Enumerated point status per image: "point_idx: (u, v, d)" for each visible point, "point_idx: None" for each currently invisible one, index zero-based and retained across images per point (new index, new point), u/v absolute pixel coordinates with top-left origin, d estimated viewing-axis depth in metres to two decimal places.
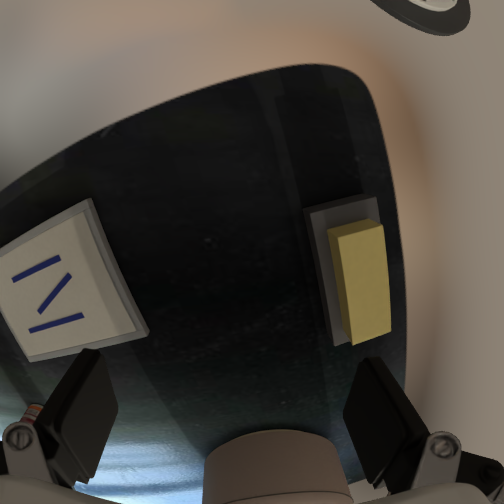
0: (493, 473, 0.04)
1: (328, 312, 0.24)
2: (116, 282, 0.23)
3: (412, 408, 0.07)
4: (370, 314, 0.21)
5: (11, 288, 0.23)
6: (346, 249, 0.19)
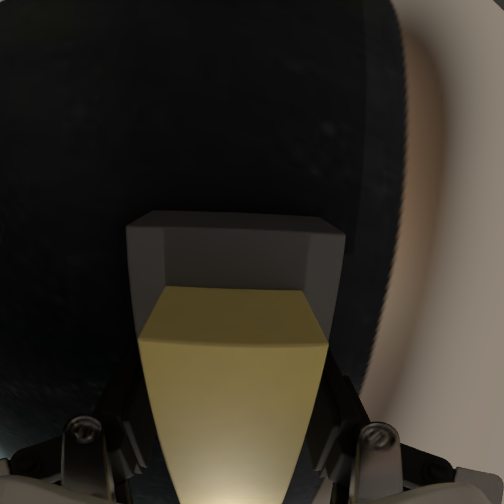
0: (437, 472, 0.05)
1: None
2: None
3: (349, 395, 0.07)
4: (229, 500, 0.07)
5: None
6: (167, 381, 0.05)
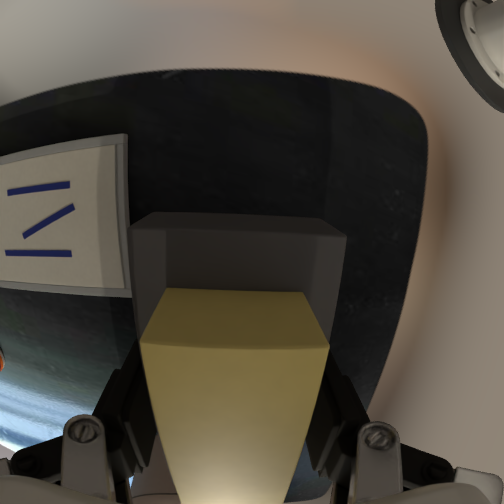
0: (437, 472, 0.05)
1: None
2: (122, 230, 0.21)
3: (349, 395, 0.07)
4: (230, 500, 0.07)
5: (3, 201, 0.20)
6: (168, 383, 0.05)
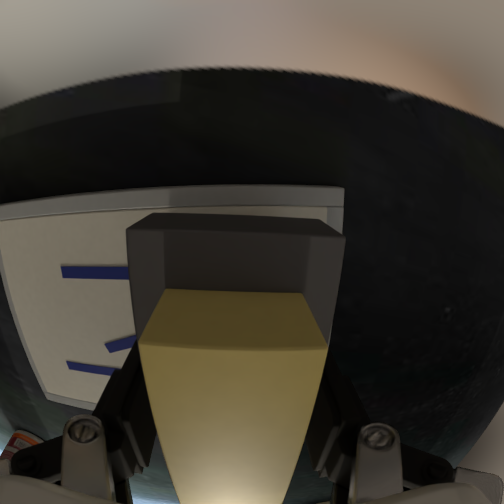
0: (438, 472, 0.05)
1: None
2: None
3: (349, 395, 0.07)
4: (229, 501, 0.07)
5: (53, 284, 0.12)
6: (167, 384, 0.05)
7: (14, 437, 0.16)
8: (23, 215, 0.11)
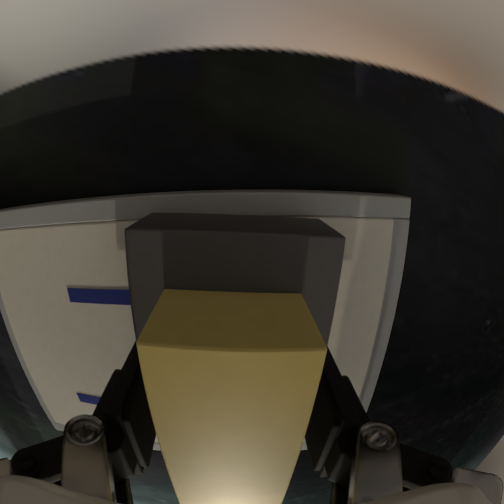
0: (437, 472, 0.05)
1: None
2: (375, 369, 0.12)
3: (348, 395, 0.07)
4: (228, 501, 0.07)
5: (59, 309, 0.10)
6: (165, 385, 0.05)
7: None
8: (19, 225, 0.09)
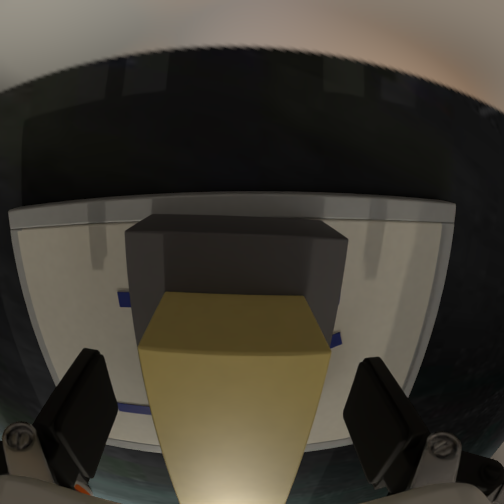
0: (493, 473, 0.04)
1: None
2: (417, 363, 0.12)
3: (412, 408, 0.07)
4: None
5: (104, 315, 0.10)
6: (167, 389, 0.05)
7: None
8: (59, 222, 0.09)
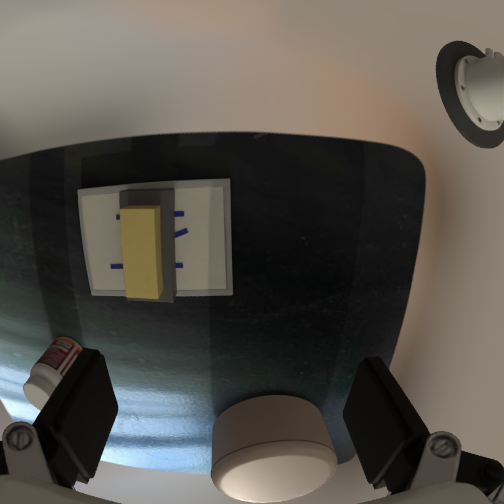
0: (493, 473, 0.04)
1: (124, 269, 0.30)
2: (228, 247, 0.32)
3: (412, 408, 0.07)
4: (139, 276, 0.27)
5: (111, 223, 0.31)
6: (124, 219, 0.26)
7: (55, 340, 0.34)
8: (98, 193, 0.30)
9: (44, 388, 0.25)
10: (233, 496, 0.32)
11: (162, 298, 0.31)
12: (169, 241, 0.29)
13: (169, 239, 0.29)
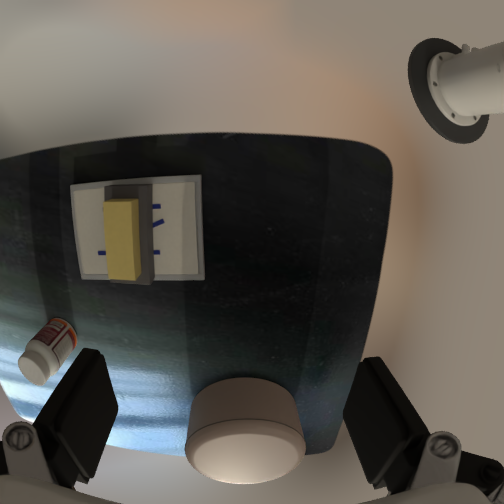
0: (493, 473, 0.04)
1: None
2: (199, 236, 0.36)
3: (412, 408, 0.07)
4: (119, 260, 0.31)
5: (98, 215, 0.34)
6: (106, 210, 0.29)
7: (50, 321, 0.38)
8: (87, 188, 0.33)
9: (36, 361, 0.29)
10: (206, 474, 0.35)
11: (140, 281, 0.34)
12: (146, 230, 0.33)
13: (146, 228, 0.33)
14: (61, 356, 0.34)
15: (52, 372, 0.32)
